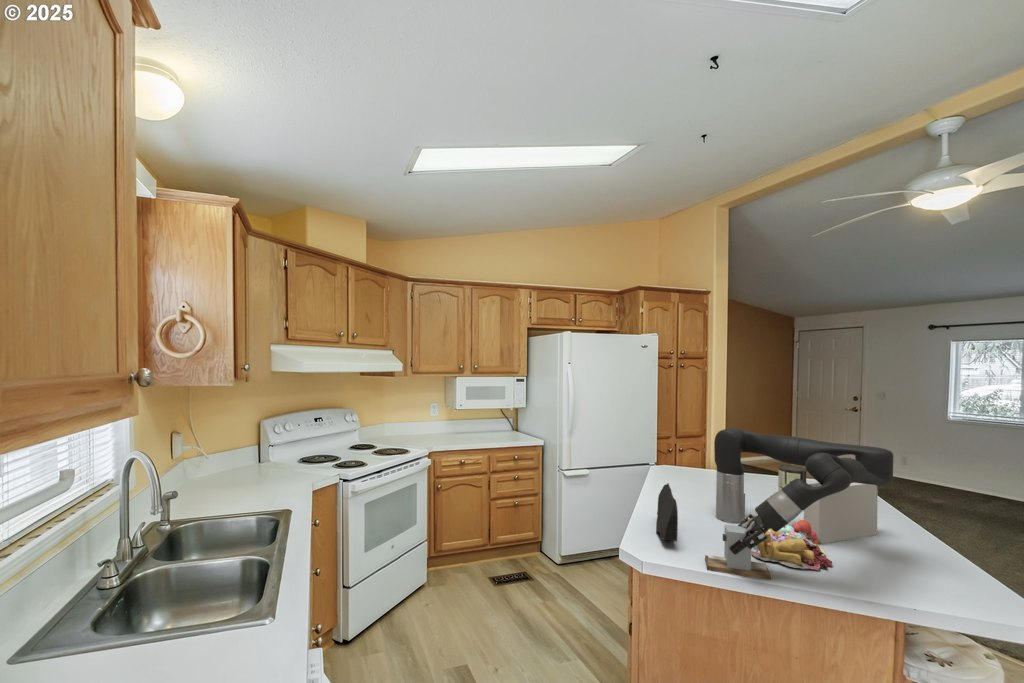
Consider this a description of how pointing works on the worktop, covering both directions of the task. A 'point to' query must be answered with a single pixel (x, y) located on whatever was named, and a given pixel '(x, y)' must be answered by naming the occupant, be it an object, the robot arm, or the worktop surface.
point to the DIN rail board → (721, 566)
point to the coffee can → (789, 475)
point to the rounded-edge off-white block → (844, 514)
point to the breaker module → (744, 556)
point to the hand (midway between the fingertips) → (730, 547)
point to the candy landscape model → (792, 548)
